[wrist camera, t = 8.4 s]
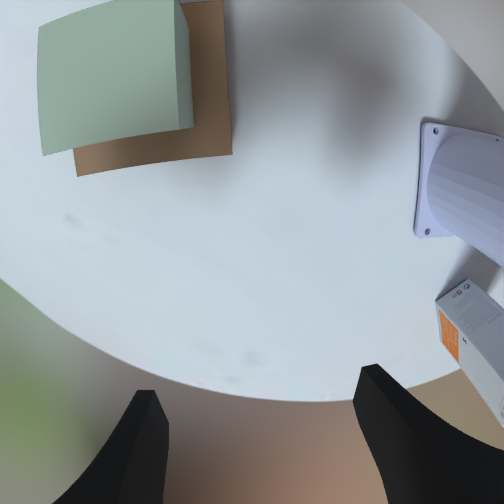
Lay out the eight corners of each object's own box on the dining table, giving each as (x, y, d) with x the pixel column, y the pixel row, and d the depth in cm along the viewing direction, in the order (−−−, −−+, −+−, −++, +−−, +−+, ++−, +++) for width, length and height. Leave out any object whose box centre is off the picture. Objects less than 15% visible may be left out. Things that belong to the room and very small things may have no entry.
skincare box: (433, 301, 22) (516, 398, 11) (468, 276, 22) (556, 358, 11) (438, 342, 25) (502, 430, 14) (470, 320, 24) (538, 397, 13)
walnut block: (222, 18, 13) (222, -1, 10) (230, 149, 17) (232, 154, 14) (89, 43, 13) (67, 32, 10) (98, 167, 16) (77, 176, 13)
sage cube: (189, 28, 11) (173, -13, 6) (194, 127, 13) (179, 129, 9) (90, 49, 11) (38, 27, 6) (95, 142, 13) (43, 156, 8)
